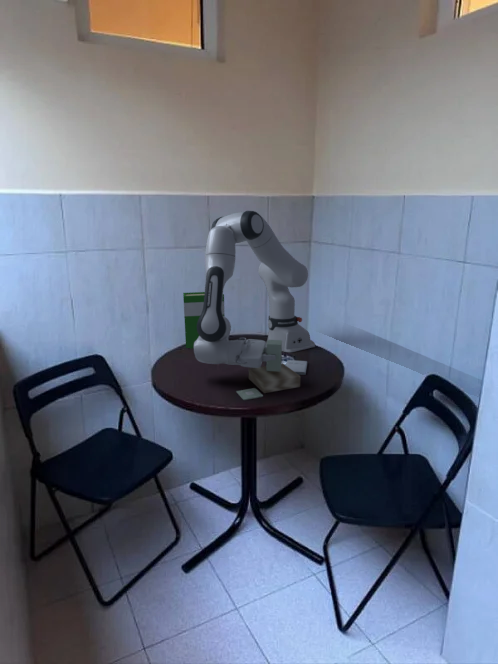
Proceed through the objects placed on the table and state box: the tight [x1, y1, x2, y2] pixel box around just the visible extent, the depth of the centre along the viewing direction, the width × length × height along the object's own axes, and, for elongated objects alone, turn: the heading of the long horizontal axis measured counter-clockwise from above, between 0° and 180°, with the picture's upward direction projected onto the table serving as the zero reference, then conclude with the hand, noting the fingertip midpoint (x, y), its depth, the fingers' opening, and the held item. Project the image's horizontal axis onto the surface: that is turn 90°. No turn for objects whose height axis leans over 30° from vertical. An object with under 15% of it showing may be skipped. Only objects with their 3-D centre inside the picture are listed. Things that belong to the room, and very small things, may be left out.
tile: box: [235, 387, 264, 401], centre depth 152 cm, size 7×7×1 cm
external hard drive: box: [285, 359, 308, 376], centre depth 176 cm, size 2×8×12 cm
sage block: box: [265, 340, 283, 371], centre depth 159 cm, size 5×5×10 cm
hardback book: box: [182, 291, 226, 349], centre depth 201 cm, size 18×7×24 cm, turn 99°
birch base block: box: [248, 362, 301, 394], centre depth 162 cm, size 14×14×4 cm
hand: (276, 354), depth 159 cm, fingers closed on sage block, 5 cm apart
